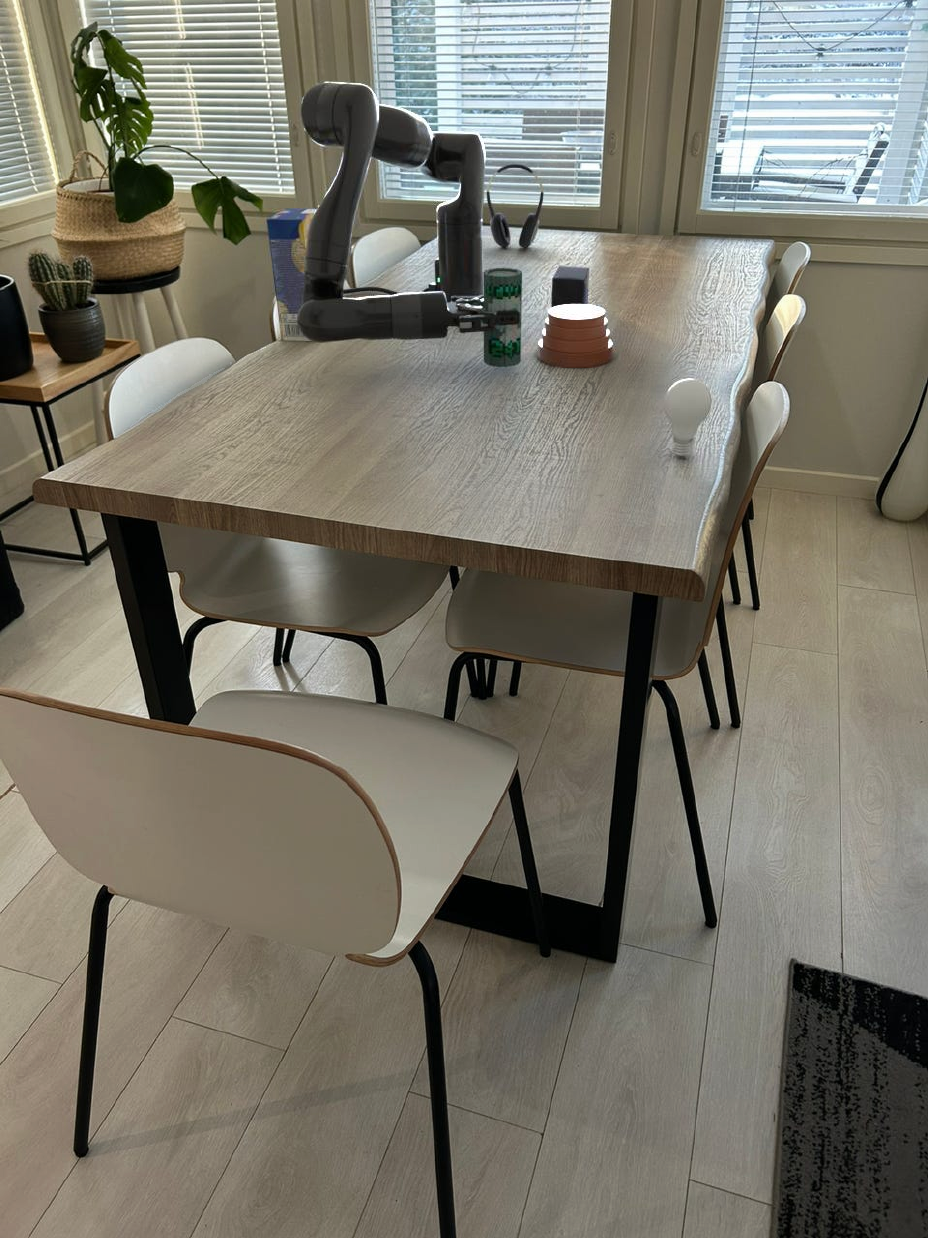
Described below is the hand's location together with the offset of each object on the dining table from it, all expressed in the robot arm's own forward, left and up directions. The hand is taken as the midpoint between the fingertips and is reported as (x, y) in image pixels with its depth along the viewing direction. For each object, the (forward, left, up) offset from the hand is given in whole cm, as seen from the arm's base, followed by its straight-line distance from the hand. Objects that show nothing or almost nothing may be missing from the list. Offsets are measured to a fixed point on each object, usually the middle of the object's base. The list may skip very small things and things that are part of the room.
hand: (515, 311), depth 164 cm
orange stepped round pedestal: (+4, +12, -10) cm, 16 cm away
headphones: (-59, +81, -10) cm, 101 cm away
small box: (-7, +27, -10) cm, 30 cm away
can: (-2, -2, -9) cm, 9 cm away
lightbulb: (+41, -18, -10) cm, 46 cm away
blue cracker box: (-47, -5, -10) cm, 49 cm away
